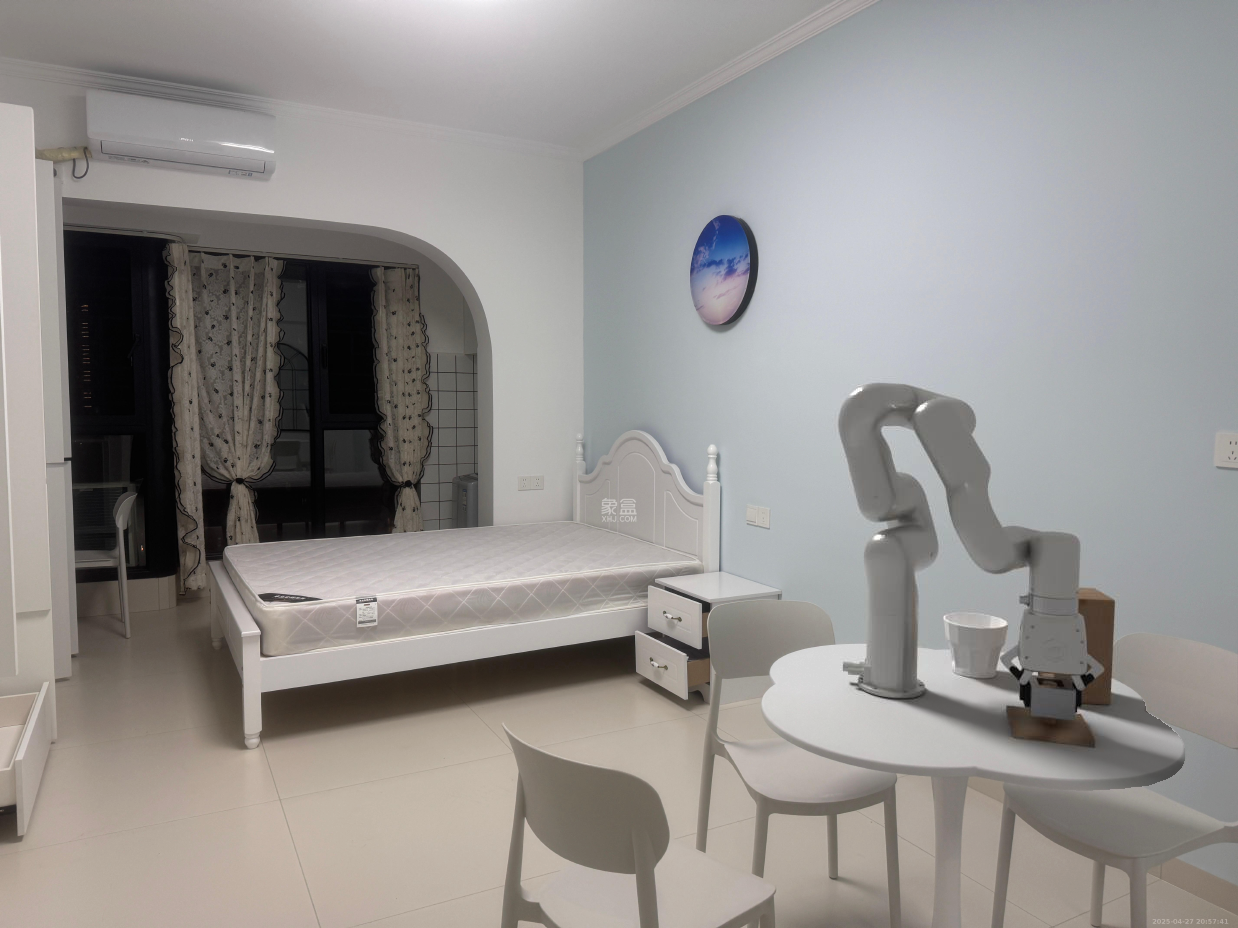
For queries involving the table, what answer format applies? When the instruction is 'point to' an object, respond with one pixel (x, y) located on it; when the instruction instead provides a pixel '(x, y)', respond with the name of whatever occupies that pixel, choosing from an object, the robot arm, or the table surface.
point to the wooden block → (1096, 643)
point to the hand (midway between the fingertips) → (1049, 706)
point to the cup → (975, 643)
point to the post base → (1049, 726)
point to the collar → (1052, 698)
